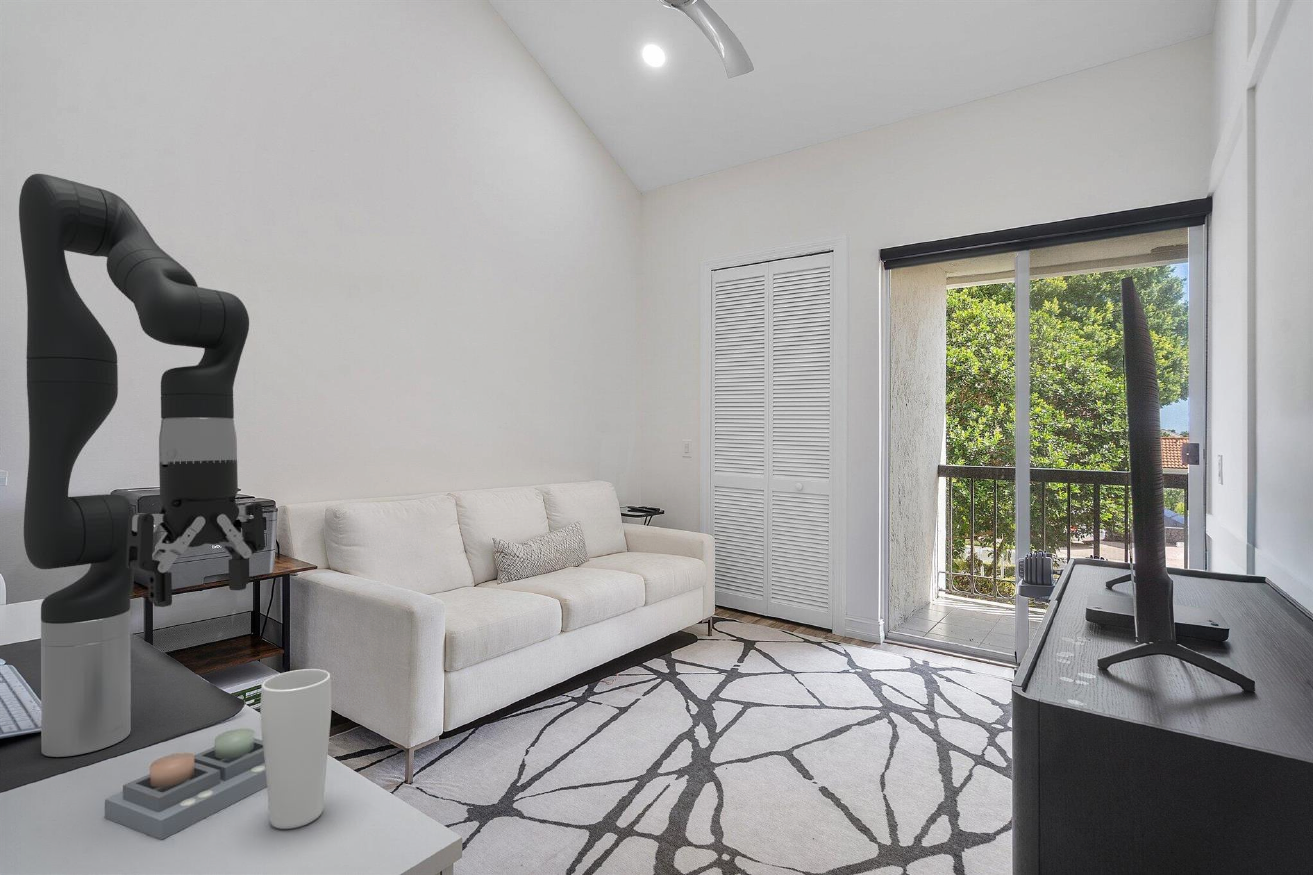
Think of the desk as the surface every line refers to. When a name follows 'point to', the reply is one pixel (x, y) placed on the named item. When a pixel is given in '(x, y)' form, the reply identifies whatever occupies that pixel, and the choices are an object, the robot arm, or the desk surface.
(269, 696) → the drinking glass
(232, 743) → the button one
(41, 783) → the desk surface
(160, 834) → the two-button control panel
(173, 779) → the button two
